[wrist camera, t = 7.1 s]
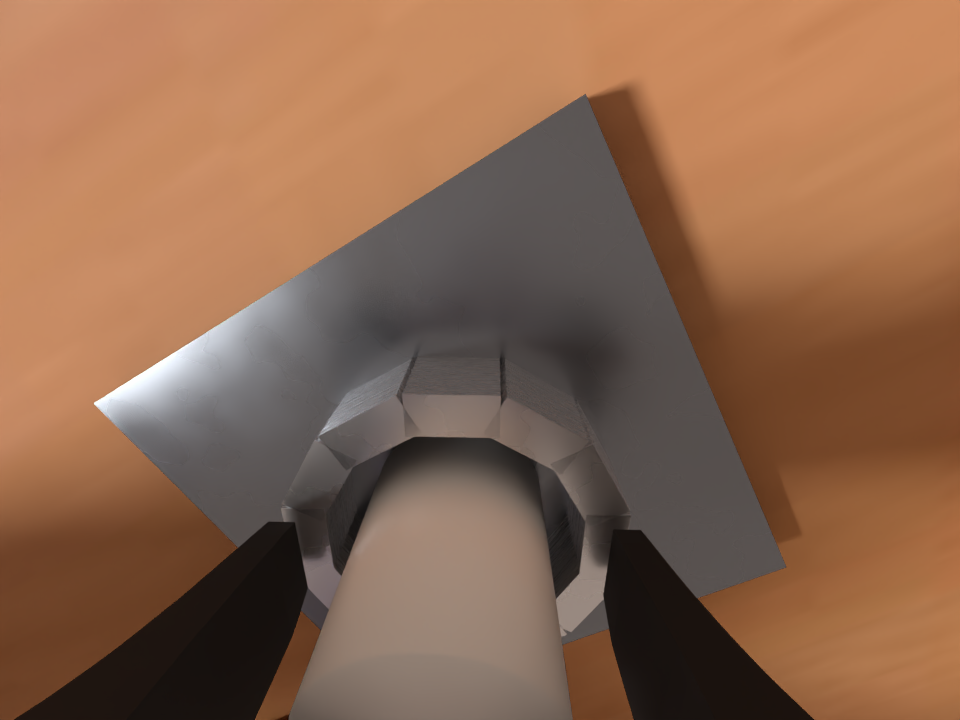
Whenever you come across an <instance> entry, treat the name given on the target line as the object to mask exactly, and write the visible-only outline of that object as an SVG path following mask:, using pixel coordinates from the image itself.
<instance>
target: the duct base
mask: <svg viewBox="0 0 960 720" xmlns="http://www.w3.org/2000/svg"><path fill="white" fill-rule="evenodd" d="M94 404H95V405H96V406H97V407H98V408H99V409H100V410H101V411H102V412H103V413H104V414H105V415H106V416H107V417H108V418H109V419H110V420H111V421H112V422H113V423H114V424H115V425H116V426H117V427H118V428H119V429H120V430H121V431H122V432H123V433H124V434H125V435H126V436H127V437H128V438H129V439H130V440H131V441H132V442H133V443H134V444H135V445H136V446H137V447H138V448H139V449H140V450H141V451H142V452H143V453H144V454H145V455H146V456H147V457H148V458H149V459H150V460H151V461H152V462H153V463H154V464H155V465H156V466H157V467H158V468H159V469H160V470H161V471H162V472H163V473H164V474H165V475H166V476H167V477H168V478H169V479H170V480H171V481H172V482H173V483H174V484H175V485H176V486H177V487H178V488H179V489H180V490H181V491H182V492H183V493H184V494H185V495H186V496H187V497H188V498H189V499H190V500H191V501H192V502H193V503H194V504H195V505H196V506H197V507H198V508H199V509H200V510H201V511H202V512H203V513H204V514H205V515H206V516H207V517H208V518H209V519H210V520H211V521H212V522H213V523H214V524H215V525H216V526H217V527H218V528H219V529H220V530H221V531H222V532H223V533H224V534H225V535H226V536H227V537H228V538H229V539H230V540H231V541H232V542H233V543H234V544H235V545H236V546H237V547H240V546H241V545H242V544H243V543H244V542H245V541H246V540H248V539H249V538H250V537H251V536H252V535H253V534H254V533H256V532H257V531H258V530H259V529H260V528H261V527H263V526H264V525H265V524H266V523H267V522H269V521H271V522H295V525H296V530H297V535H298V540H299V545H300V550H301V555H302V560H303V565H304V570H305V575H306V580H307V585H308V589H307V592H306V596H305V599H304V602H303V605H302V608H301V611H302V612H303V613H304V614H305V615H306V616H307V617H308V618H309V619H310V620H311V621H312V622H313V623H314V624H315V625H316V626H317V627H318V628H319V629H320V630H321V629H322V627H323V624H324V621H325V619H326V616H327V613H328V611H329V608H330V605H331V603H332V600H333V598H334V595H335V592H336V590H337V587H338V584H339V582H340V579H341V576H342V574H343V571H344V568H345V566H346V563H347V560H348V558H349V555H350V553H351V550H352V547H353V545H354V542H355V539H356V537H357V534H358V531H359V529H360V526H361V523H362V521H363V518H364V515H365V513H366V510H367V508H368V505H369V502H370V500H371V497H372V494H373V492H374V489H375V486H376V484H377V481H378V478H379V476H380V473H381V471H382V468H383V466H384V463H385V462H386V460H387V458H388V457H389V455H390V454H391V453H392V452H393V450H394V449H395V448H396V447H397V446H398V445H399V444H401V443H402V442H404V441H406V440H408V439H410V438H412V437H470V438H492V439H494V440H496V441H498V442H500V443H501V444H503V445H505V446H507V447H509V448H511V449H513V450H515V451H517V452H519V453H521V454H523V455H525V456H527V457H528V459H529V460H530V462H531V463H532V465H533V467H534V469H535V471H536V473H537V476H538V480H539V484H540V491H541V498H542V505H543V512H544V519H545V526H546V533H547V541H548V548H549V555H550V562H551V569H552V576H553V583H554V590H555V597H556V604H557V611H558V618H559V625H560V633H561V640H562V645H563V644H566V643H569V642H572V641H575V640H578V639H581V638H583V637H586V636H589V635H592V634H595V633H598V632H601V631H604V630H607V629H609V626H608V620H607V614H606V609H605V603H604V597H603V593H604V587H605V580H606V573H607V567H608V560H609V554H610V547H611V540H612V534H613V529H622V530H641V531H642V532H643V533H644V534H645V535H646V536H647V538H648V539H649V540H650V541H651V543H652V544H653V545H654V546H655V548H656V549H657V550H658V551H659V553H660V554H661V555H662V556H663V558H664V559H665V560H666V561H667V563H668V564H669V565H670V566H671V568H672V569H673V570H674V571H675V572H676V574H677V575H678V576H679V577H680V579H681V580H682V581H683V582H684V583H685V585H686V586H687V587H688V588H689V589H690V591H691V592H692V593H693V594H694V595H695V596H696V598H699V597H702V596H705V595H708V594H711V593H714V592H717V591H719V590H722V589H725V588H728V587H731V586H734V585H737V584H740V583H743V582H745V581H748V580H751V579H754V578H757V577H760V576H763V575H766V574H769V573H771V572H774V571H777V570H780V569H783V568H786V565H785V563H784V560H783V558H782V556H781V553H780V551H779V549H778V546H777V544H776V542H775V539H774V537H773V535H772V532H771V530H770V527H769V525H768V523H767V520H766V518H765V516H764V513H763V511H762V509H761V506H760V504H759V502H758V499H757V497H756V494H755V492H754V490H753V487H752V485H751V483H750V480H749V478H748V476H747V473H746V471H745V469H744V466H743V464H742V461H741V459H740V457H739V454H738V452H737V450H736V447H735V445H734V443H733V440H732V438H731V436H730V433H729V431H728V428H727V426H726V424H725V421H724V419H723V417H722V414H721V412H720V410H719V407H718V405H717V403H716V400H715V398H714V395H713V393H712V391H711V388H710V386H709V384H708V381H707V379H706V377H705V374H704V372H703V370H702V367H701V365H700V362H699V360H698V358H697V355H696V353H695V351H694V348H693V346H692V344H691V341H690V339H689V337H688V334H687V332H686V329H685V327H684V325H683V322H682V320H681V318H680V315H679V313H678V311H677V308H676V306H675V304H674V301H673V299H672V296H671V294H670V292H669V289H668V287H667V285H666V282H665V280H664V278H663V275H662V273H661V271H660V268H659V266H658V263H657V261H656V259H655V256H654V254H653V252H652V249H651V247H650V245H649V242H648V240H647V238H646V235H645V233H644V230H643V228H642V226H641V223H640V221H639V219H638V216H637V214H636V212H635V209H634V207H633V205H632V202H631V200H630V197H629V195H628V193H627V190H626V188H625V186H624V183H623V181H622V179H621V176H620V174H619V172H618V169H617V167H616V164H615V162H614V160H613V157H612V155H611V153H610V150H609V148H608V146H607V143H606V141H605V139H604V136H603V134H602V131H601V129H600V127H599V124H598V122H597V120H596V117H595V115H594V113H593V110H592V108H591V106H590V103H589V101H588V98H587V96H586V94H585V95H583V96H582V97H580V98H578V99H577V100H575V101H574V102H572V103H570V104H569V105H567V106H566V107H564V108H562V109H561V110H559V111H558V112H556V113H554V114H553V115H551V116H550V117H548V118H547V119H545V120H543V121H542V122H540V123H539V124H537V125H535V126H534V127H532V128H531V129H529V130H527V131H526V132H524V133H523V134H521V135H520V136H518V137H516V138H515V139H513V140H512V141H510V142H508V143H507V144H505V145H504V146H502V147H500V148H499V149H497V150H496V151H494V152H493V153H491V154H489V155H488V156H486V157H485V158H483V159H481V160H480V161H478V162H477V163H475V164H473V165H472V166H470V167H469V168H467V169H465V170H464V171H462V172H461V173H459V174H458V175H456V176H454V177H453V178H451V179H450V180H448V181H446V182H445V183H443V184H442V185H440V186H438V187H437V188H435V189H434V190H432V191H431V192H429V193H427V194H426V195H424V196H423V197H421V198H419V199H418V200H416V201H415V202H413V203H411V204H410V205H408V206H407V207H405V208H404V209H402V210H400V211H399V212H397V213H396V214H394V215H392V216H391V217H389V218H388V219H386V220H384V221H383V222H381V223H380V224H378V225H376V226H375V227H373V228H372V229H370V230H369V231H367V232H365V233H364V234H362V235H361V236H359V237H357V238H356V239H354V240H353V241H351V242H349V243H348V244H346V245H345V246H343V247H342V248H340V249H338V250H337V251H335V252H334V253H332V254H330V255H329V256H327V257H326V258H324V259H322V260H321V261H319V262H318V263H316V264H315V265H313V266H311V267H310V268H308V269H307V270H305V271H303V272H302V273H300V274H299V275H297V276H295V277H294V278H292V279H291V280H289V281H287V282H286V283H284V284H283V285H281V286H280V287H278V288H276V289H275V290H273V291H272V292H270V293H268V294H267V295H265V296H264V297H262V298H260V299H259V300H257V301H256V302H254V303H253V304H251V305H249V306H248V307H246V308H245V309H243V310H241V311H240V312H238V313H237V314H235V315H233V316H232V317H230V318H229V319H227V320H226V321H224V322H222V323H221V324H219V325H218V326H216V327H214V328H213V329H211V330H210V331H208V332H206V333H205V334H203V335H202V336H200V337H198V338H197V339H195V340H194V341H192V342H191V343H189V344H187V345H186V346H184V347H183V348H181V349H179V350H178V351H176V352H175V353H173V354H171V355H170V356H168V357H167V358H165V359H164V360H162V361H160V362H159V363H157V364H156V365H154V366H152V367H151V368H149V369H148V370H146V371H144V372H143V373H141V374H140V375H138V376H137V377H135V378H133V379H132V380H130V381H129V382H127V383H125V384H124V385H122V386H121V387H119V388H117V389H116V390H114V391H113V392H111V393H109V394H108V395H106V396H105V397H103V398H102V399H100V400H98V401H97V402H95V403H94Z"/></svg>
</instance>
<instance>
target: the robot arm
mask: <svg viewBox="0 0 960 720" xmlns="http://www.w3.org/2000/svg"><path fill="white" fill-rule="evenodd" d="M307 589H308V585H307V580H306V575H305V570H304V565H303V560H302V555H301V550H300V545H299V540H298V535H297V530H296V525H295V522H271V521H269V522H267V523H266V524H265V525H264V526H263V527H261V528H260V529H259V530H258V531H257V532H256V533H254V534H253V535H252V536H251V537H250V538H249V539H248V540H246V541H245V542H244V543H243V544H242V545H241V546H240V547H238V548H237V549H236V550H235V551H234V552H233V553H232V554H231V555H229V556H228V557H227V558H226V559H225V560H224V561H223V562H221V563H220V564H219V565H218V566H217V567H216V568H215V569H213V570H212V571H211V572H210V573H209V574H208V575H206V576H205V577H204V578H203V579H202V580H201V581H199V582H198V583H197V584H196V585H195V586H194V587H192V588H191V589H190V590H189V591H188V592H187V593H185V594H184V595H183V596H182V597H181V598H179V599H178V600H177V601H176V602H174V603H173V604H172V605H171V606H169V607H168V608H167V609H166V610H164V611H163V612H162V613H161V614H159V615H158V616H157V617H156V618H154V619H153V620H152V621H151V622H149V623H148V624H147V625H146V626H144V627H143V628H142V629H141V630H139V631H138V632H137V633H136V634H134V635H133V636H132V637H131V638H129V639H128V640H127V641H126V642H124V643H123V644H122V645H120V646H119V647H118V648H116V649H115V650H114V651H112V652H111V653H110V654H108V655H107V656H106V657H104V658H103V659H102V660H100V661H99V662H98V663H96V664H95V665H93V666H92V667H91V668H89V669H88V670H86V671H85V672H84V673H82V674H81V675H79V676H78V677H77V678H75V679H74V680H72V681H71V682H69V683H68V684H67V685H65V686H64V687H62V688H61V689H60V690H58V691H57V692H55V693H54V694H52V695H51V696H49V697H48V698H46V699H45V700H44V701H42V702H41V703H39V704H37V705H36V706H34V707H33V708H31V709H30V710H28V711H27V712H25V713H24V714H22V715H20V716H19V717H17V718H16V719H14V720H255V718H256V715H257V713H258V711H259V709H260V707H261V704H262V702H263V700H264V698H265V696H266V693H267V691H268V689H269V687H270V685H271V682H272V680H273V678H274V676H275V674H276V671H277V669H278V667H279V665H280V663H281V660H282V658H283V656H284V654H285V651H286V649H287V647H288V645H289V642H290V640H291V638H292V635H293V632H294V629H295V627H296V624H297V621H298V618H299V615H300V612H301V608H302V605H303V602H304V599H305V596H306V592H307ZM603 597H604V603H605V609H606V614H607V620H608V626H609V631H610V636H611V641H612V646H613V649H614V653H615V657H616V660H617V664H618V667H619V670H620V674H621V677H622V681H623V684H624V688H625V691H626V695H627V698H628V701H629V705H630V708H631V712H632V715H633V718H634V720H814V719H813V718H812V717H811V716H810V715H809V714H808V713H807V712H806V711H805V710H803V709H802V708H801V707H800V706H799V705H798V704H797V703H796V702H795V701H794V700H793V699H792V698H791V697H790V696H789V695H788V694H787V693H786V692H785V691H784V690H782V689H781V688H780V687H779V686H778V685H777V684H776V683H775V682H774V681H773V680H772V679H771V678H770V677H769V676H768V675H767V674H766V673H765V672H764V671H763V670H762V669H761V668H760V666H759V665H758V664H757V663H756V662H755V661H754V660H753V659H752V658H751V657H750V656H749V655H748V654H747V653H746V652H745V651H744V650H743V649H742V648H741V647H740V646H739V644H738V643H737V642H736V641H735V640H734V639H733V638H732V637H731V636H730V635H729V634H728V633H727V631H726V630H725V629H724V628H723V627H722V626H721V625H720V624H719V623H718V622H717V620H716V619H715V618H714V617H713V616H712V615H711V614H710V612H709V611H708V610H707V609H706V608H705V607H704V606H703V604H702V603H701V602H700V601H699V600H698V599H697V598H696V596H695V595H694V594H693V593H692V592H691V591H690V589H689V588H688V587H687V586H686V585H685V583H684V582H683V581H682V580H681V579H680V577H679V576H678V575H677V574H676V572H675V571H674V570H673V569H672V568H671V566H670V565H669V564H668V563H667V561H666V560H665V559H664V558H663V556H662V555H661V554H660V553H659V551H658V550H657V549H656V548H655V546H654V545H653V544H652V543H651V541H650V540H649V539H648V538H647V536H646V535H645V534H644V533H643V532H642V531H641V530H622V529H613V534H612V540H611V547H610V554H609V560H608V567H607V573H606V580H605V587H604V593H603Z"/></svg>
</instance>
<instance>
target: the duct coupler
mask: <svg viewBox="0 0 960 720" xmlns="http://www.w3.org/2000/svg"><path fill="white" fill-rule="evenodd" d="M288 720H573V718H572V710H571V703H570V696H569V689H568V682H567V675H566V668H565V661H564V654H563V647H562V640H561V633H560V625H559V618H558V611H557V604H556V597H555V590H554V583H553V576H552V569H551V562H550V555H549V548H548V541H547V533H546V526H545V519H544V512H543V505H542V498H541V491H540V484H539V480H538V476H537V473H536V471H535V469H534V467H533V465H532V463H531V462H530V460H529V459H528V457H527V456H525V455H523V454H521V453H519V452H517V451H515V450H513V449H511V448H509V447H507V446H505V445H503V444H501V443H500V442H498V441H496V440H494V439H492V438H470V437H412V438H410V439H408V440H406V441H404V442H402V443H401V444H399V445H398V446H397V447H396V448H395V449H394V450H393V452H392V453H391V454H390V455H389V457H388V458H387V460H386V462H385V463H384V466H383V468H382V471H381V473H380V476H379V478H378V481H377V484H376V486H375V489H374V492H373V494H372V497H371V500H370V502H369V505H368V508H367V510H366V513H365V515H364V518H363V521H362V523H361V526H360V529H359V531H358V534H357V537H356V539H355V542H354V545H353V547H352V550H351V553H350V555H349V558H348V560H347V563H346V566H345V568H344V571H343V574H342V576H341V579H340V582H339V584H338V587H337V590H336V592H335V595H334V598H333V600H332V603H331V605H330V608H329V611H328V613H327V616H326V619H325V621H324V624H323V627H322V629H321V632H320V635H319V637H318V640H317V642H316V645H315V648H314V650H313V653H312V656H311V658H310V661H309V664H308V666H307V669H306V672H305V674H304V677H303V680H302V682H301V685H300V687H299V690H298V693H297V695H296V698H295V701H294V703H293V706H292V709H291V711H290V714H289V718H288Z"/></svg>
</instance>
